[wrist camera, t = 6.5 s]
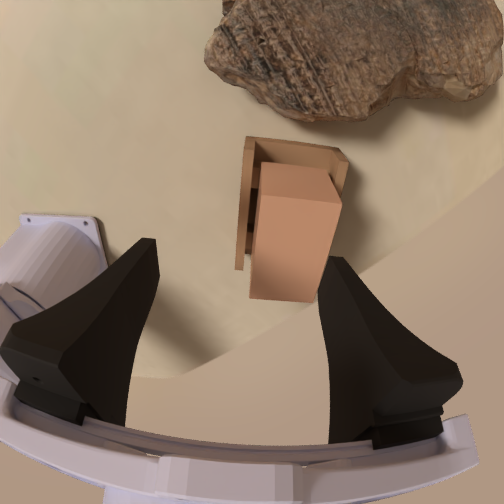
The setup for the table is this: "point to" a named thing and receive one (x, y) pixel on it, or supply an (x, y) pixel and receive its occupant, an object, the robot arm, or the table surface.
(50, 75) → the table surface
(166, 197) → the table surface
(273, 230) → the clay bar
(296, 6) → the rough brown rock
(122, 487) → the robot arm
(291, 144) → the rack
